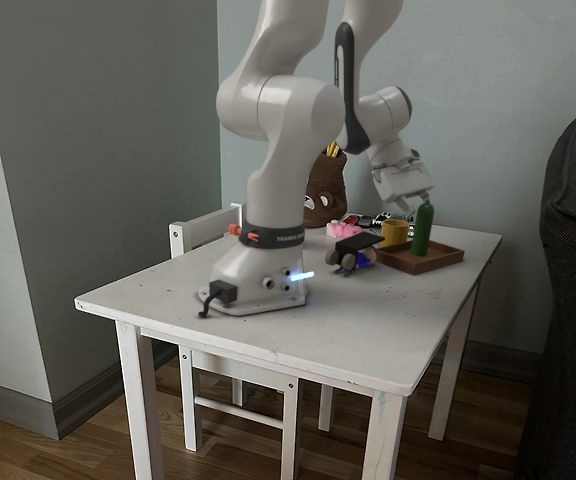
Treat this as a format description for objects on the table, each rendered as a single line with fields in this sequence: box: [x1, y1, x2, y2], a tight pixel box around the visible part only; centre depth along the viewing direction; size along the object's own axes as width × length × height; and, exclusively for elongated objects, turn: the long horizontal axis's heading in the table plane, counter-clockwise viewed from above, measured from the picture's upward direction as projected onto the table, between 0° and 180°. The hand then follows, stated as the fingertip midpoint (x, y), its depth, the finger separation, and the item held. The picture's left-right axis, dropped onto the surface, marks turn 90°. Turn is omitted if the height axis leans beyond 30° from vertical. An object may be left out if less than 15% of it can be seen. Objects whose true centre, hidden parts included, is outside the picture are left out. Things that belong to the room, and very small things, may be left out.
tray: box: [375, 239, 466, 276], centre depth 135 cm, size 19×13×3 cm
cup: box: [379, 219, 411, 247], centre depth 143 cm, size 7×7×6 cm
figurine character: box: [324, 230, 385, 277], centre depth 125 cm, size 7×8×15 cm
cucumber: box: [411, 200, 435, 256], centre depth 134 cm, size 4×4×13 cm
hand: (421, 211), depth 132 cm, fingers open, 8 cm apart
